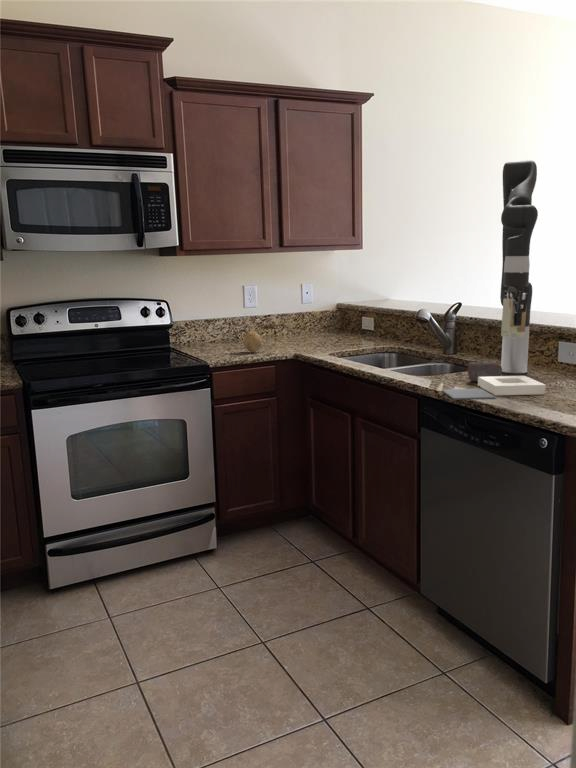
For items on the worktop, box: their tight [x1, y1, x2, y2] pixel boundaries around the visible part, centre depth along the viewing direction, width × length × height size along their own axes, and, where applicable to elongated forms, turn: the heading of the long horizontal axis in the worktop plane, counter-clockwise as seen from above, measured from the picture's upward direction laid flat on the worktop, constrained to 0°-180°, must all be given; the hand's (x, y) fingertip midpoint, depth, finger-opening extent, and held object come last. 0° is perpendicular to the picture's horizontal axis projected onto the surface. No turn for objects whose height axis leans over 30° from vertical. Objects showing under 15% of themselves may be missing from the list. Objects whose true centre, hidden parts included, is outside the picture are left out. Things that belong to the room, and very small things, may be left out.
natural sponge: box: [242, 330, 264, 354], centre depth 301 cm, size 9×9×10 cm
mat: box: [441, 388, 496, 401], centre depth 205 cm, size 13×13×1 cm
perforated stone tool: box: [467, 361, 503, 382], centre depth 227 cm, size 15×5×7 cm, turn 111°
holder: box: [477, 375, 547, 396], centre depth 212 cm, size 16×16×3 cm
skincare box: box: [500, 298, 527, 338], centre depth 208 cm, size 6×4×12 cm
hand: (513, 324), depth 208 cm, fingers closed on skincare box, 5 cm apart
